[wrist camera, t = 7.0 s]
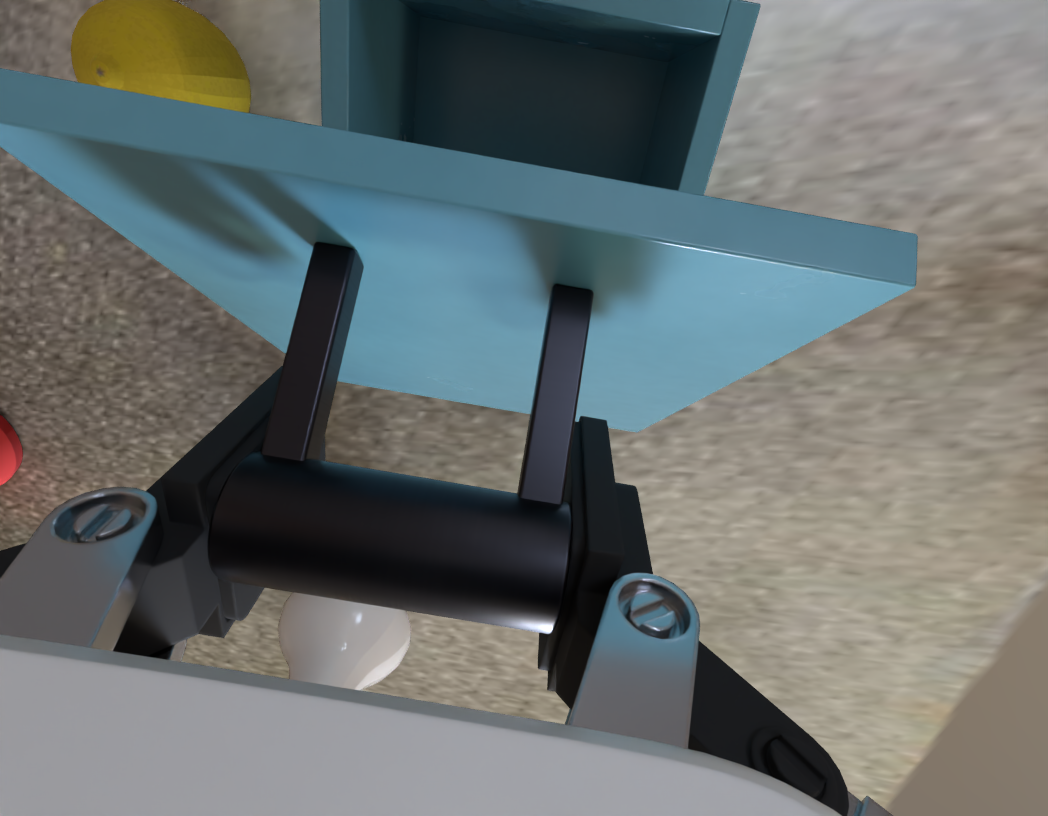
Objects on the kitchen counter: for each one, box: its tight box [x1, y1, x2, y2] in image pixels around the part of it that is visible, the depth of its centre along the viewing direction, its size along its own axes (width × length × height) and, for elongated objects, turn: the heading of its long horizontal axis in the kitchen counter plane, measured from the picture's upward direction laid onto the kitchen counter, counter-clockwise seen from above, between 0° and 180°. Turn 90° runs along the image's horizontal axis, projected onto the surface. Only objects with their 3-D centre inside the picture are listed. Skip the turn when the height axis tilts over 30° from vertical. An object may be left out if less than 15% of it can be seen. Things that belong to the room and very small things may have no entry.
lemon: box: [71, 0, 251, 113], centre depth 23 cm, size 6×6×8 cm
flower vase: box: [278, 592, 411, 691], centre depth 31 cm, size 13×18×25 cm
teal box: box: [320, 0, 760, 196], centre depth 23 cm, size 14×13×10 cm
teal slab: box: [0, 68, 918, 634], centre depth 14 cm, size 15×13×6 cm
